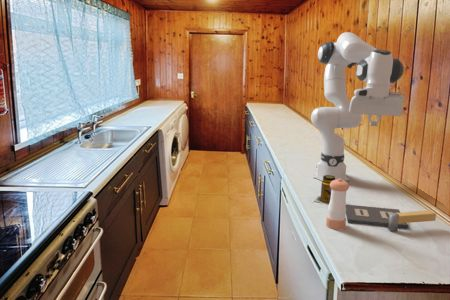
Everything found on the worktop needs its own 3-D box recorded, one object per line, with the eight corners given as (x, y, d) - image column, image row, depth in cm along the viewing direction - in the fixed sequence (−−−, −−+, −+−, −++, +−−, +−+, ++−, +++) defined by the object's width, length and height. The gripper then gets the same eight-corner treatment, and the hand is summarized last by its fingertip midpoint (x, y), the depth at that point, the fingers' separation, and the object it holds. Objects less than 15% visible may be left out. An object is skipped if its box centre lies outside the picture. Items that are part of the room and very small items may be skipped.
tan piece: (391, 231, 140) (393, 216, 139) (386, 227, 143) (388, 213, 142) (434, 228, 144) (436, 213, 143) (428, 224, 147) (430, 210, 146)
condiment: (332, 205, 166) (334, 179, 163) (313, 201, 170) (315, 176, 167) (336, 200, 172) (338, 175, 169) (318, 196, 176) (320, 172, 173)
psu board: (344, 207, 164) (344, 203, 163) (398, 212, 159) (398, 208, 159) (347, 222, 149) (348, 218, 148) (407, 228, 144) (408, 224, 144)
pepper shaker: (330, 220, 151) (334, 174, 146) (348, 225, 146) (353, 178, 142) (322, 225, 145) (326, 179, 141) (340, 231, 141) (345, 183, 136)
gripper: (403, 92, 151) (399, 125, 154) (350, 90, 155) (347, 123, 158) (407, 93, 145) (402, 128, 148) (352, 91, 149) (348, 125, 152)
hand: (373, 125), depth 153 cm, fingers closed
